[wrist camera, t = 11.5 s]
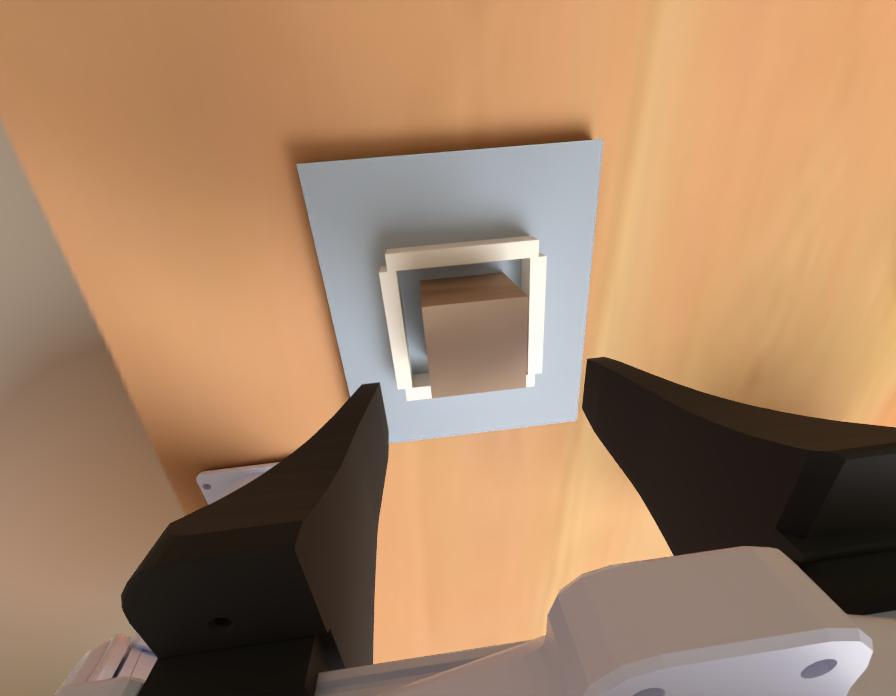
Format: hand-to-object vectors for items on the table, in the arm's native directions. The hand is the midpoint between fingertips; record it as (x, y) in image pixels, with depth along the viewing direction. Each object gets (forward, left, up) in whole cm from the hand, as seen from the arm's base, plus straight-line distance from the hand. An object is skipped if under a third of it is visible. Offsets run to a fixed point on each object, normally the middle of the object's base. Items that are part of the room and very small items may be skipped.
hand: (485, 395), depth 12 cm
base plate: (0, 0, -9) cm, 9 cm away
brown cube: (0, 0, -8) cm, 8 cm away
